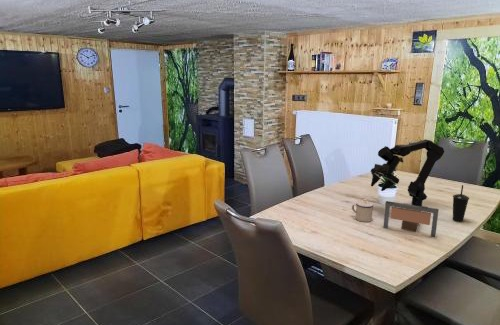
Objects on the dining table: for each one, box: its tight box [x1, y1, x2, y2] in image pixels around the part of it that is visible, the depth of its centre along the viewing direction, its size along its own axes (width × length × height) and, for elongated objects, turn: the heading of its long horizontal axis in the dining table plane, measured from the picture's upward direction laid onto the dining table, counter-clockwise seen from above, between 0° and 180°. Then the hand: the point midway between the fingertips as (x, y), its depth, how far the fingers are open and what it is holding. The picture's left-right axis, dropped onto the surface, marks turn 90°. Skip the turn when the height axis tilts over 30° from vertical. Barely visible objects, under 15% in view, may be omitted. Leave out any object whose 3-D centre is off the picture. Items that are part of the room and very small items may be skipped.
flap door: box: [390, 206, 432, 226], centre depth 175 cm, size 1×18×6 cm, turn 60°
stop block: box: [401, 209, 420, 233], centre depth 184 cm, size 14×7×8 cm, turn 149°
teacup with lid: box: [351, 198, 374, 223], centre depth 194 cm, size 12×9×12 cm
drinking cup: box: [452, 184, 470, 223], centre depth 189 cm, size 8×8×20 cm
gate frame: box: [383, 200, 439, 238], centre depth 176 cm, size 2×24×14 cm, turn 60°
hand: (376, 188), depth 199 cm, fingers open, 9 cm apart
